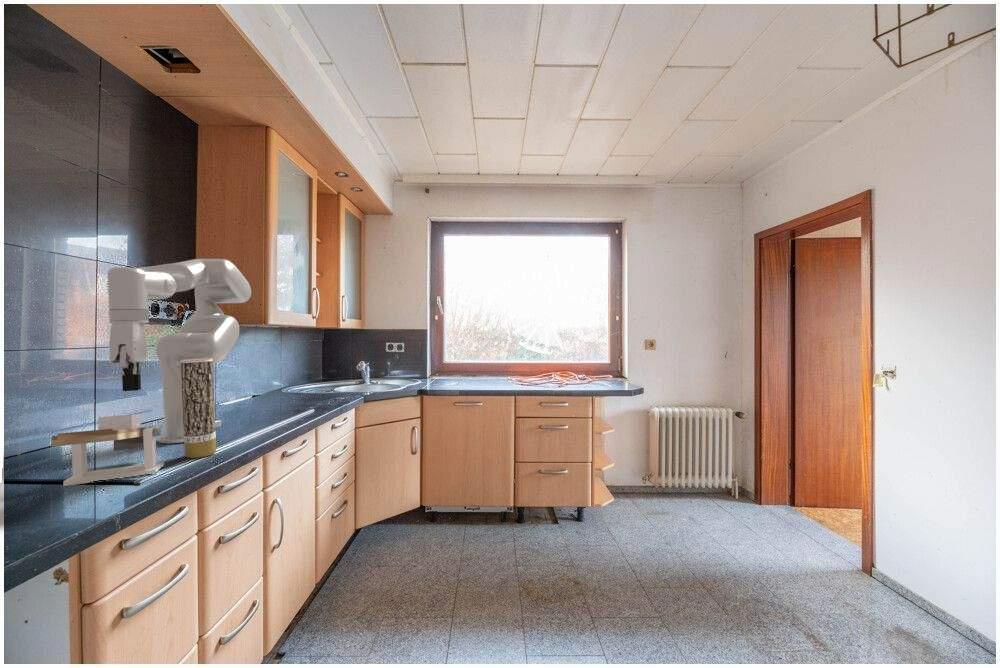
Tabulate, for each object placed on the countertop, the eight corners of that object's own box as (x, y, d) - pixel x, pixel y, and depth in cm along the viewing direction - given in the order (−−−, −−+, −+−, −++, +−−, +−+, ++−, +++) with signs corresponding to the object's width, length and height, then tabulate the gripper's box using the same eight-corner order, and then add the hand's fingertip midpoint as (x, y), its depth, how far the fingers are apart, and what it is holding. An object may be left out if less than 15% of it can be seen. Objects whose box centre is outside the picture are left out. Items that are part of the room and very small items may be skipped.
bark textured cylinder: (188, 453, 114) (184, 359, 114) (218, 449, 117) (215, 357, 116) (181, 460, 108) (177, 361, 107) (213, 456, 111) (209, 359, 110)
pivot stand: (75, 477, 98) (73, 433, 97) (165, 465, 104) (163, 424, 104) (61, 486, 92) (59, 439, 92) (157, 473, 99) (155, 430, 99)
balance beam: (112, 450, 108) (113, 428, 109) (161, 444, 112) (161, 423, 113) (50, 462, 83) (51, 434, 84) (116, 455, 87) (117, 428, 88)
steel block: (109, 433, 102) (109, 416, 103) (140, 430, 105) (141, 414, 105) (97, 435, 97) (98, 417, 97) (131, 432, 99) (131, 414, 100)
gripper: (122, 318, 114) (124, 388, 114) (96, 316, 100) (99, 395, 100) (157, 318, 117) (159, 385, 117) (137, 316, 103) (139, 393, 103)
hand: (131, 390), depth 108 cm, fingers closed
